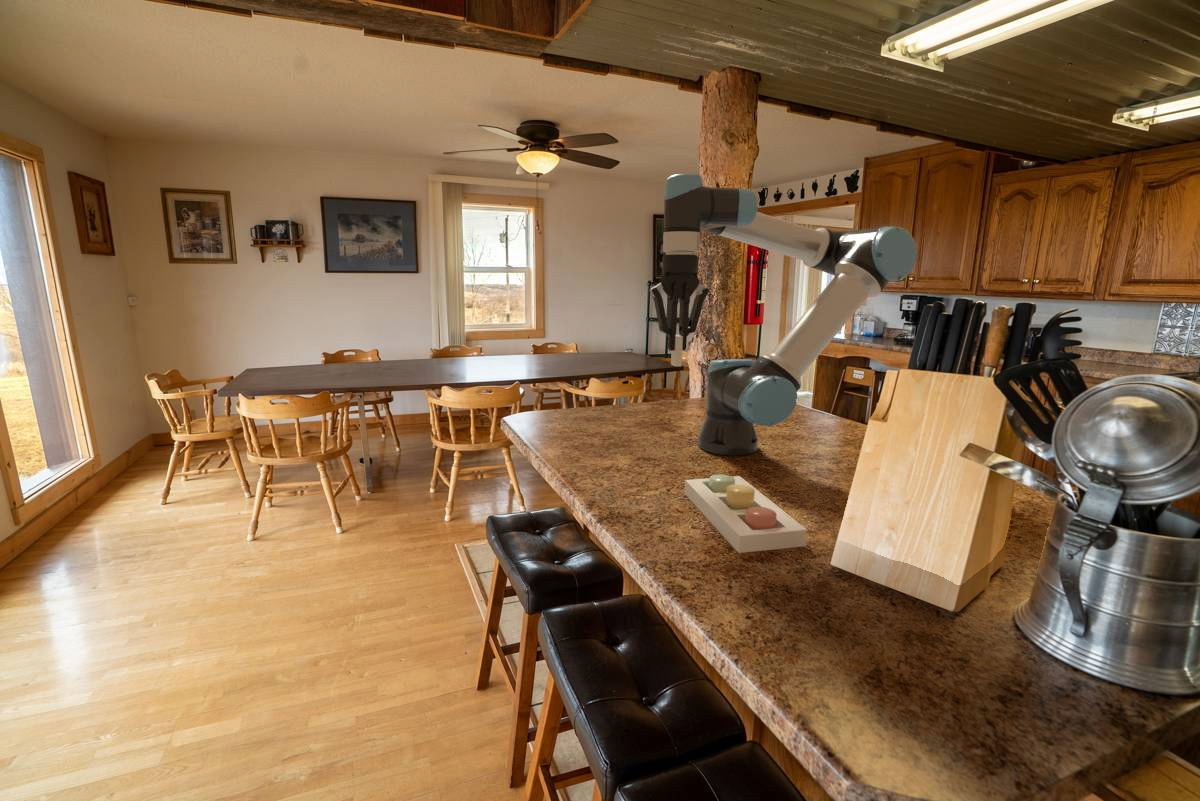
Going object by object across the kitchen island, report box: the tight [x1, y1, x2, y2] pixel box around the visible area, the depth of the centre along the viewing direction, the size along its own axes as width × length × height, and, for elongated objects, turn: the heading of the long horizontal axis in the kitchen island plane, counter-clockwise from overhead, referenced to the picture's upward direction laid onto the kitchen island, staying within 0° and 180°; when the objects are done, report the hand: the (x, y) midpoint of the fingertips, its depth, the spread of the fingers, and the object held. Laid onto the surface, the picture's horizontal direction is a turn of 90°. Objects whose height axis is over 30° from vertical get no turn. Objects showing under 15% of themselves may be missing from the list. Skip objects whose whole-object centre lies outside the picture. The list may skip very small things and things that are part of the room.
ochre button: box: [726, 484, 755, 510], centre depth 102 cm, size 5×5×3 cm
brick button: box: [745, 507, 777, 530], centre depth 95 cm, size 5×5×3 cm
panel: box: [683, 475, 808, 554], centre depth 103 cm, size 12×25×3 cm, turn 12°
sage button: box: [709, 474, 735, 493], centre depth 110 cm, size 5×5×3 cm
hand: (676, 365), depth 121 cm, fingers closed
